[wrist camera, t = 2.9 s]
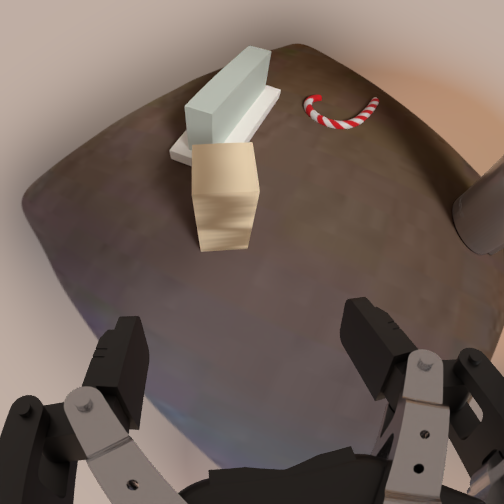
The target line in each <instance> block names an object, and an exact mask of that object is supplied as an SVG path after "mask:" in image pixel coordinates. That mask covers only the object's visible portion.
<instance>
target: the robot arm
mask: <svg viewBox="0 0 504 504" xmlns="http://www.w3.org/2000/svg"><path fill="white" fill-rule="evenodd" d="M452 213H453V220H454V223H455V226H456V229H457V231H458V233H459V235H460V237H461V238H462V240H463V241H464V243H465V244H466V245H467V246H468V247H469V248H470V249H471V250H472V251H474V252H475V253H477V254H486V253H489V254H490V255H493V254H494V253H496V252H498V251H500V250H501V249H503V248H504V156H503V157H502V158H501V159H499V161H497V163H495V164H494V165H493V166H492V167H491V168H490V169H489V170H488V171H487V172H486V173H485V174H484V175H483V176H482V177H481V178H480V179H479V180H477V181H476V182H475V183H474V184H473V185H472V186H471V187H470V188H469V189H468V190H467V191H465V192H464V193H463V194H462V195H461V196H460V197H459V198H458V199H456V201H455V202H454V204H453V209H452ZM340 339H341V342H342V345H343V346H344V348H345V350H346V351H347V353H348V355H349V357H350V358H351V360H352V362H353V363H354V365H355V367H356V369H357V370H358V372H359V374H360V375H361V377H362V379H363V381H364V382H365V384H366V386H367V388H368V389H369V391H370V393H371V395H372V396H373V398H374V400H375V401H377V400H381V399H384V398H386V399H387V401H388V403H387V405H386V407H385V411H384V415H383V419H382V423H381V427H380V430H379V434H378V437H377V441H376V443H375V446H374V448H373V450H372V452H371V454H370V455H366V454H354V452H353V450H352V448H351V446H350V447H346V448H343V449H339V450H336V451H332V452H328V453H324V454H320V455H317V456H315V457H313V458H311V459H309V460H307V461H304V462H302V463H300V464H298V465H295V466H293V467H291V468H288V469H285V470H275V469H259V468H248V467H243V468H232V469H218V470H209V478H208V479H204V480H201V481H199V482H196V483H194V484H192V485H190V486H188V487H186V488H185V489H183V490H182V491H180V492H179V493H177V492H176V491H175V490H174V489H173V488H172V487H171V486H170V484H169V483H168V482H167V481H166V480H165V479H164V478H163V476H162V475H161V474H160V473H159V472H158V471H157V470H156V468H155V467H154V466H153V465H152V463H151V462H150V461H149V460H148V458H147V457H146V456H145V455H144V453H143V452H142V451H141V449H140V448H139V447H138V446H137V444H136V443H135V442H134V440H133V439H132V438H131V437H130V436H129V435H128V434H129V429H135V430H139V426H140V418H141V411H142V404H143V397H144V390H145V384H146V378H147V371H148V366H149V349H148V345H147V342H146V338H145V334H144V331H143V327H142V323H141V320H140V317H139V316H127V317H119V319H118V321H117V324H116V327H115V329H114V330H107V331H106V332H105V333H104V335H103V336H102V337H101V338H100V339H99V342H98V344H97V347H96V350H95V352H94V354H93V358H92V360H91V362H90V365H89V368H88V370H87V373H86V376H85V379H84V382H83V384H82V387H79V388H77V389H75V390H73V391H72V392H70V393H69V394H68V396H67V397H66V399H65V402H63V403H57V404H51V405H44V406H43V404H42V403H41V401H40V400H39V399H38V398H37V397H35V396H32V395H26V396H22V397H20V398H18V399H17V400H16V401H15V402H14V403H13V404H12V406H11V408H10V411H9V414H8V416H7V419H6V422H5V425H4V427H3V430H2V433H1V436H0V504H73V499H74V488H75V479H76V470H77V462H78V460H85V459H86V462H87V464H88V466H89V468H90V470H91V471H92V473H93V475H94V477H95V478H96V480H97V482H98V483H99V485H100V486H101V488H102V490H103V491H104V493H105V494H106V495H107V497H108V498H109V500H110V502H111V503H112V504H504V377H503V376H502V375H501V373H500V372H499V371H498V370H497V369H496V367H495V366H494V365H493V364H492V363H491V362H490V360H489V359H488V358H487V357H486V356H485V355H484V354H483V353H482V352H481V351H479V350H477V349H474V348H465V349H463V350H462V351H461V352H460V354H459V356H458V358H457V359H456V360H441V359H440V357H439V356H438V355H437V354H435V353H433V352H431V351H429V350H423V349H420V350H418V349H417V347H416V346H415V345H414V344H413V343H412V341H411V340H410V339H409V338H408V337H407V335H406V334H405V333H404V332H403V331H402V330H401V329H399V326H398V325H397V324H396V323H394V320H393V319H392V318H391V317H390V316H389V314H388V313H386V312H385V311H383V310H381V309H380V308H378V307H374V306H373V305H372V304H371V302H370V301H369V300H368V299H367V298H366V297H360V298H353V299H348V300H347V301H346V303H345V307H344V313H343V318H342V323H341V328H340ZM471 395H472V396H473V398H474V399H475V400H476V402H477V403H478V405H479V406H480V408H481V409H482V412H483V419H482V422H480V421H479V419H478V418H477V416H476V415H475V413H474V412H473V410H472V409H471V407H470V406H469V404H468V403H467V400H468V399H469V397H470V396H471ZM448 437H449V439H450V440H451V442H452V444H453V446H454V448H455V450H456V451H457V453H458V455H459V457H460V459H461V460H462V462H463V464H464V466H465V468H466V470H467V472H468V474H469V476H470V478H471V481H470V487H469V488H468V490H467V494H465V493H462V492H460V491H457V490H454V489H452V488H449V487H447V486H444V485H442V480H443V474H444V467H445V460H446V452H447V443H448Z"/></svg>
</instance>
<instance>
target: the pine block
mask: <svg viewBox="0 0 504 504" xmlns="http://www.w3.org/2000/svg"><path fill="white" fill-rule="evenodd" d="M259 193H260V189H259V182H258V176H257V169H256V162H255V156H254V149H253V142H246V143H215V144H197V145H192V199H193V206H194V212H195V219H196V225H197V231H198V237H199V243H200V249H201V252H203V251H218V250H234V249H247V248H248V244H249V239H250V234H251V230H252V225H253V221H254V216H255V211H256V207H257V202H258V197H259Z"/></svg>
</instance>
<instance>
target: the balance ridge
mask: <svg viewBox="0 0 504 504" xmlns="http://www.w3.org/2000/svg"><path fill="white" fill-rule="evenodd" d="M270 56H271V51H268V50H265V49H261V48H257V47H254V46H248V47H247V48H246V49H245V50H244V51H242V52H241V53H240V54H239V55H238V56H237V57H235V58H234V59H233V60H232V61H231V62H230V63H229V64H228V65H226V66H225V67H224V68H223V69H222V70H221V71H220V72H219V73H218V74H217V75H215V76H214V77H213V78H212V79H211V80H210V81H209V82H208V83H207V84H206V85H205V86H204V87H203V88H202V89H201V90H200V91H199V92H198V93H197V94H196V95H195V96H194V97H193V98H192V99H191V100H190V101H189V102H188V103H187V104H186V105H185V116H186V126H187V130H186V131H185V132H184V133H183V134H182V135H181V137H180V138H179V139H178V140H177V142H176V143H175V144H174V145H173V146H172V148H171V149H170V150H169V151H170V156H171V159H173V160H176V161H178V162H181V163H184V164H186V165H189V166H192V145H197V144H215V143H246V142H249V141H250V139H251V138H252V136H253V135H254V133H255V132H256V130H257V129H258V128H259V126H260V125H261V123H262V122H263V120H264V119H265V117H266V116H267V114H268V113H269V111H270V110H271V109H272V107H273V106H274V104H275V103H276V101H277V100H278V99H279V96H280V91H281V90H279V89H276V88H273V87H270V86H267V85H266V80H267V74H268V68H269V62H270Z"/></svg>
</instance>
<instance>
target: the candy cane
mask: <svg viewBox="0 0 504 504" xmlns="http://www.w3.org/2000/svg"><path fill="white" fill-rule="evenodd" d="M321 100H322V97H321V95H311V96H309V97H307V98H306V100H305V101H304V110H305V112H306V113H307V115H308V116H309V117H311V118H312V119H313V120H315V121H316V122H318V123H320V124H322V125H324V126H327V127H330V128H335V129H348V128H353V127H356V126H358V125H360V124H361V123H363V122H364V121H365V120H366V119H367V118H368V117H369V116H370V115H371V114H372V113H373V111H374V110H375V108H376V107H377V105H378V103H379V99H378V98H376V97H374V98H373V99H372V100H371V101H370V103H369V104H368V106H367V107H366V108H365V109H364V110H363V111H362V112H361V113H360V114H359V115H357V116H356V117H354V118H352V119H350V120H346V121H336V120H331V119H328V118H326V117H324V116H322V115H320V114H319V113H317V112H316V111H315V110H314V109H313V107H312V103H313V102H316V101H321Z"/></svg>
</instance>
